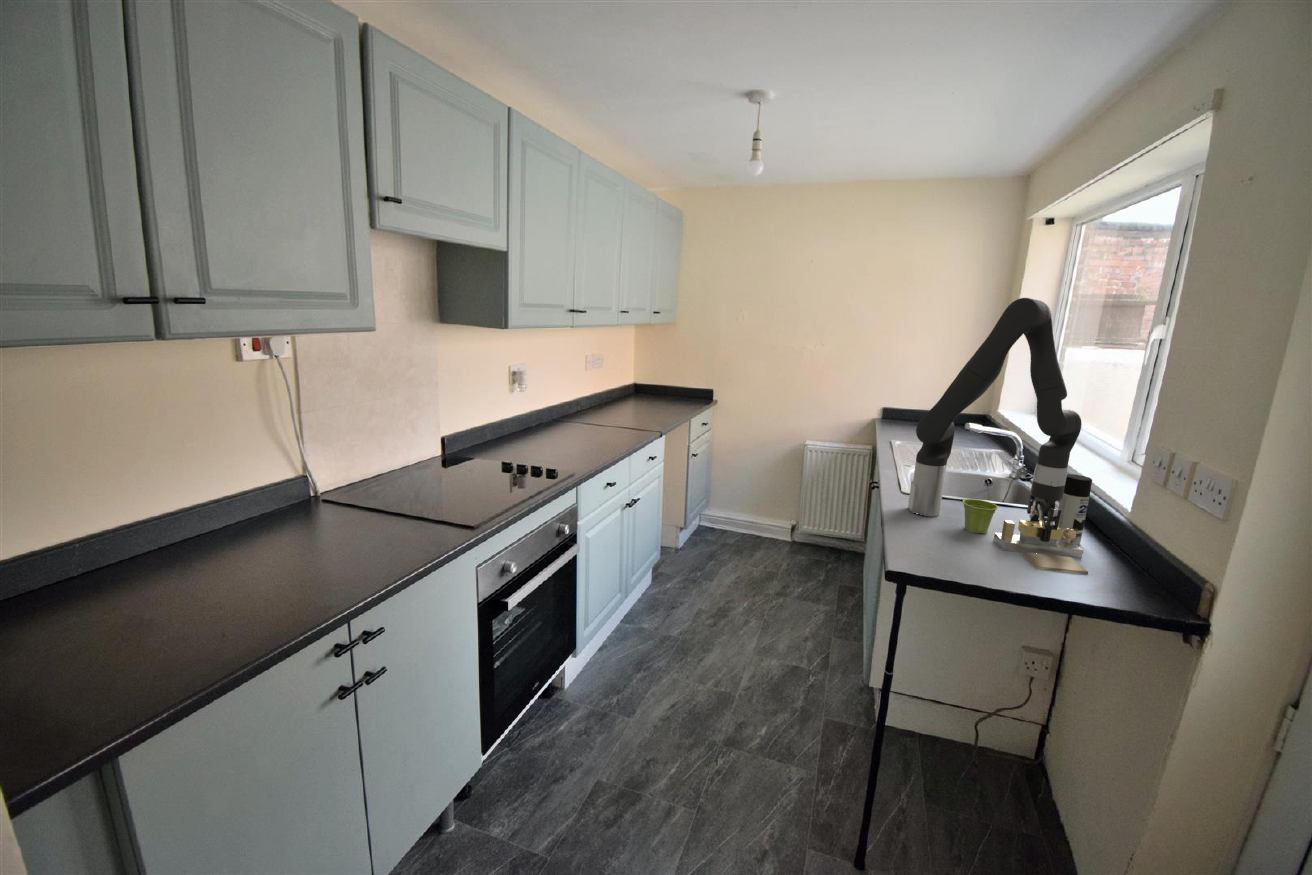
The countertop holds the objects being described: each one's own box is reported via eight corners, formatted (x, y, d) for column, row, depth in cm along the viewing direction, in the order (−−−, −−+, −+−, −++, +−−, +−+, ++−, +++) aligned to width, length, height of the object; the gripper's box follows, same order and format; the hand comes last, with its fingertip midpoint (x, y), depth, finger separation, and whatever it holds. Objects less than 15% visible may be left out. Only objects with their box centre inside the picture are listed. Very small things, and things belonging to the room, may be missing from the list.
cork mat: (1036, 568, 148) (1037, 566, 148) (1022, 554, 157) (1023, 552, 156) (1087, 574, 146) (1088, 571, 145) (1070, 559, 154) (1071, 557, 154)
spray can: (1072, 547, 163) (1085, 481, 158) (1047, 538, 168) (1059, 475, 164) (1084, 543, 166) (1098, 478, 161) (1059, 535, 171) (1072, 472, 167)
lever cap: (1024, 536, 158) (1027, 524, 157) (1017, 529, 163) (1019, 517, 162) (1060, 539, 156) (1063, 527, 156) (1052, 532, 161) (1054, 521, 160)
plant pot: (964, 522, 180) (968, 496, 178) (997, 530, 174) (1001, 504, 172) (954, 529, 174) (958, 503, 172) (987, 538, 167) (992, 511, 165)
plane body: (1002, 550, 159) (1006, 525, 158) (993, 540, 166) (997, 516, 164) (1081, 558, 155) (1086, 532, 154) (1069, 547, 162) (1074, 523, 160)
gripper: (1023, 472, 164) (1013, 525, 167) (1045, 487, 150) (1034, 544, 154) (1052, 474, 162) (1042, 528, 166) (1077, 489, 149) (1065, 547, 152)
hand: (1038, 535), depth 160 cm, fingers open, 7 cm apart
